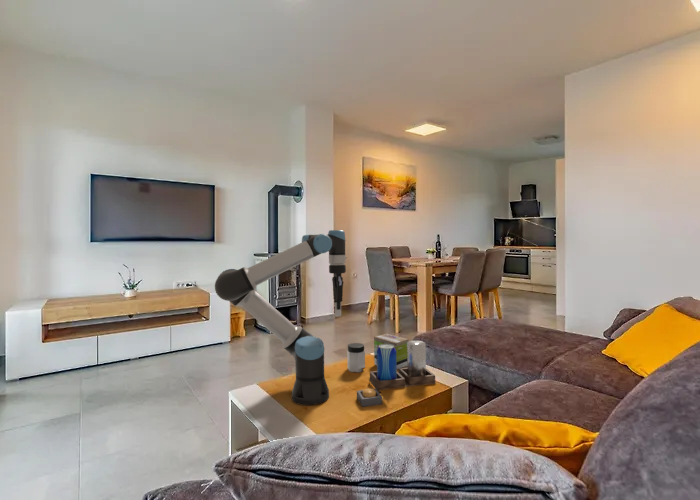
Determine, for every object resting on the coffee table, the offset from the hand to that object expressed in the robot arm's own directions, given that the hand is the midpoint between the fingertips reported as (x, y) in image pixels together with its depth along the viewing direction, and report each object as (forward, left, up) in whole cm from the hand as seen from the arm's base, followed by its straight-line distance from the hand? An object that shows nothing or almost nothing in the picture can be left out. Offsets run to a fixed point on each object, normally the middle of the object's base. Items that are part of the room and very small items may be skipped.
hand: (338, 316), depth 163 cm
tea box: (+29, +10, -30) cm, 43 cm away
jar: (+11, +11, -30) cm, 33 cm away
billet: (+33, -12, -28) cm, 45 cm away
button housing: (+7, -24, -29) cm, 39 cm away
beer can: (+19, -12, -28) cm, 36 cm away
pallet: (+26, -12, -29) cm, 41 cm away
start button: (+7, -24, -28) cm, 38 cm away
